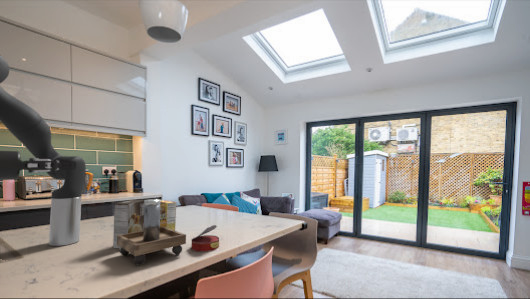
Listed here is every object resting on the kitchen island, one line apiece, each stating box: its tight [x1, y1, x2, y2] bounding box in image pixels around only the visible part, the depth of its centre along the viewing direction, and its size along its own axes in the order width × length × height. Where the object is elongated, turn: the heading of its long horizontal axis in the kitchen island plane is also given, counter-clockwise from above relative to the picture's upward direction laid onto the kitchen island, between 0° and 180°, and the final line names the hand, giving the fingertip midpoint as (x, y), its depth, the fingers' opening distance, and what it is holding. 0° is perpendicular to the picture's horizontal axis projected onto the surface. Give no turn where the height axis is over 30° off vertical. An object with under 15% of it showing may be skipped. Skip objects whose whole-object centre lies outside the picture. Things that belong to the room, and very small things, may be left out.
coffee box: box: [112, 199, 145, 249], centre depth 95 cm, size 9×6×16 cm
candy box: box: [160, 199, 177, 231], centre depth 101 cm, size 9×4×15 cm, turn 50°
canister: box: [143, 198, 162, 242], centre depth 84 cm, size 5×5×13 cm
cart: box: [117, 227, 187, 266], centre depth 84 cm, size 16×16×6 cm
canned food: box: [191, 224, 220, 252], centre depth 92 cm, size 11×10×10 cm
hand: (72, 165), depth 75 cm, fingers open, 8 cm apart
